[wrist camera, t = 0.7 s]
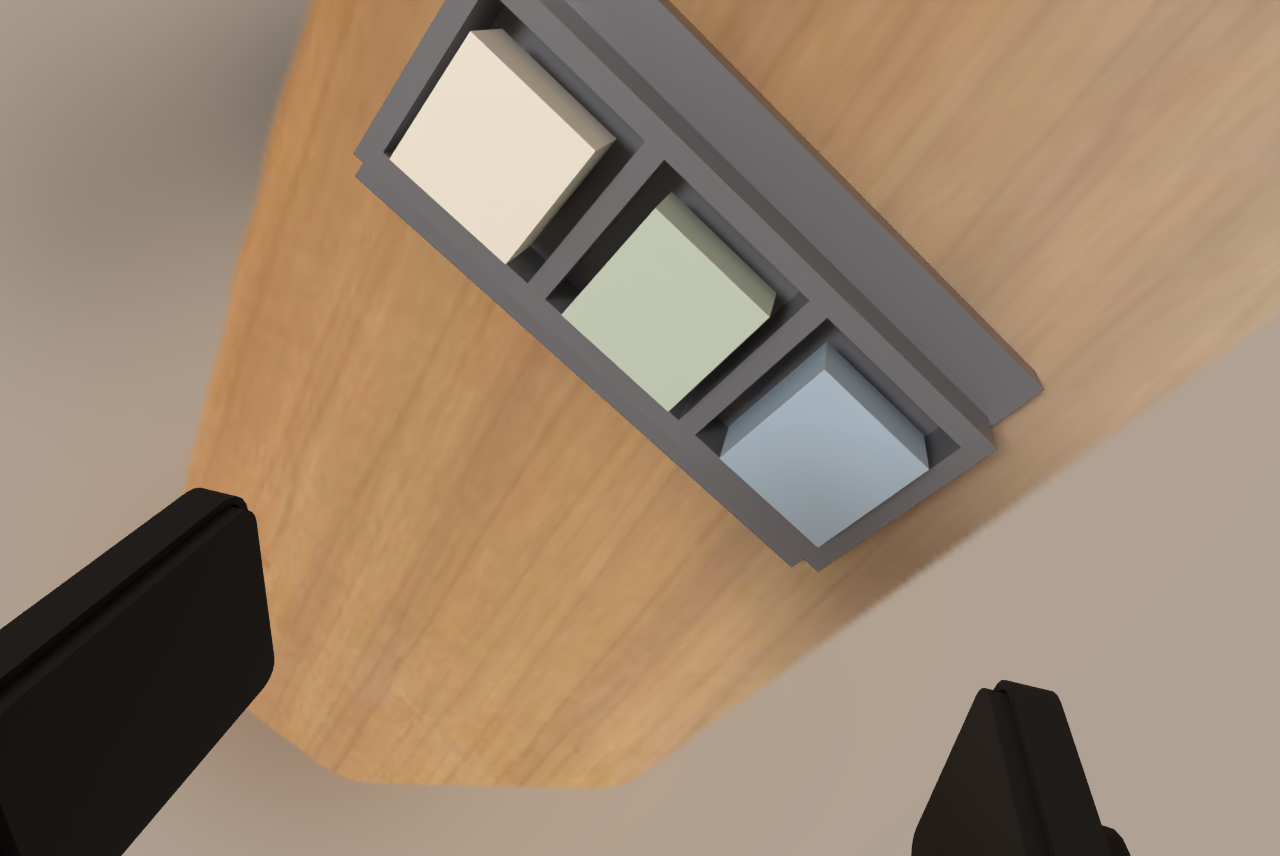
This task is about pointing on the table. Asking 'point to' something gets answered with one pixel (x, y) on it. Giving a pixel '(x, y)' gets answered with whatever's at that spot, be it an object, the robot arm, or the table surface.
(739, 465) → the blue key
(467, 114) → the cream key
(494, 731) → the table surface
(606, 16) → the grey compartment tray
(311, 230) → the table surface
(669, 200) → the sage key
